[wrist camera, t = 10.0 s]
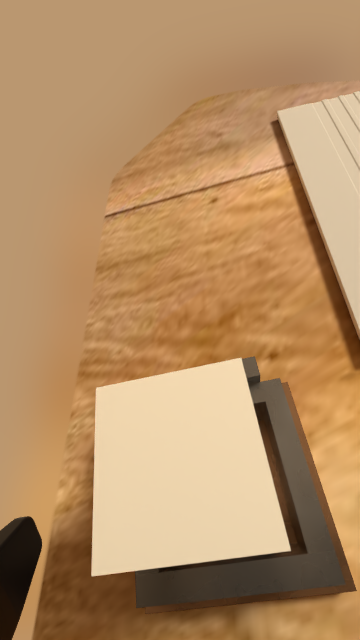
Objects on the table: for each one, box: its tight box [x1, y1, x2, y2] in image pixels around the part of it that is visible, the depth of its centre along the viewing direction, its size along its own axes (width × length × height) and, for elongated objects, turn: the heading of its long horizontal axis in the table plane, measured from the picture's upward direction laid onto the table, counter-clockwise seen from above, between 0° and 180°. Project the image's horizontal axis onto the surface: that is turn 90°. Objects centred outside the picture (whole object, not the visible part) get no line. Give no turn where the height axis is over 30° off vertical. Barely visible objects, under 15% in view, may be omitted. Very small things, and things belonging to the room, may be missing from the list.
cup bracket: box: [135, 357, 357, 614], centre depth 15 cm, size 10×10×6 cm
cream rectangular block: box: [91, 358, 291, 577], centre depth 12 cm, size 4×4×12 cm
